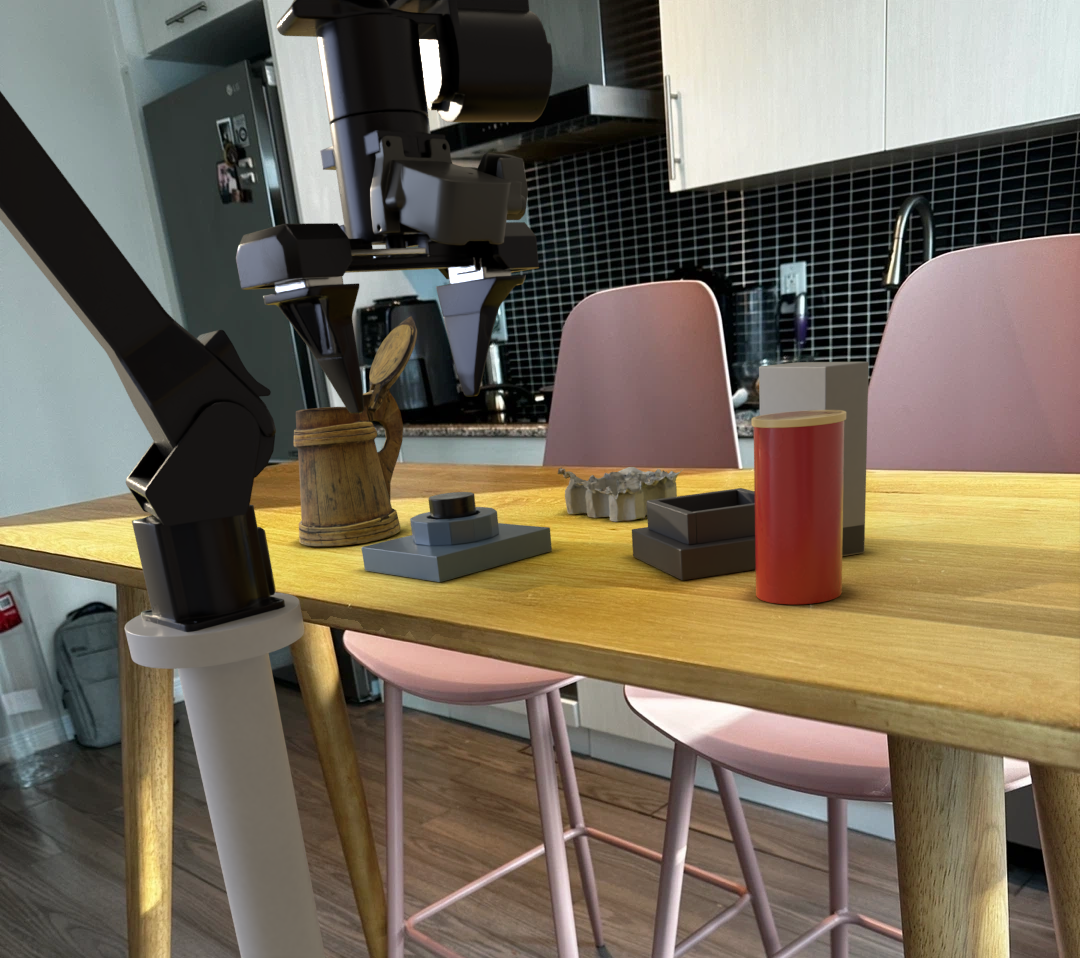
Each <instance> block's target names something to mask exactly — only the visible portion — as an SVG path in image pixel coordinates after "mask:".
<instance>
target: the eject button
mask: <svg viewBox="0 0 1080 958" xmlns="http://www.w3.org/2000/svg"><path fill="white" fill-rule="evenodd" d="M476 507H477V506H476V497H475V493H473V492H471V491H458V492H457V491H456V492H454V491H453V492H445V493H439V494H435V495H431V496H429V497H428V508H429V512H430V516H431V519H436V520H438V519H455V518H463V517H468V516H473V515H477V514H476Z"/></svg>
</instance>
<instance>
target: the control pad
mask: <svg viewBox="0 0 1080 958" xmlns="http://www.w3.org/2000/svg"><path fill="white" fill-rule="evenodd" d="M476 514H477V515H473V516H468V517H463V518H455V519H438V520H436V519H431V516H430V511H427V512H423V513H419V514H416V515H414V516H412V517H410V518H409V520H410V521H409V522H410V529H411V535H405V536H403V537H398V538H394V539H390V540H386V541H381V542H376V543H373V544H368V545H364V546H361V554H362V555H361V556H362V559H363V561H362V562H363V567H364V571H366V572H372V573H377V574H384V575H389V576H390V575H392V576H397V577H404V578H410V579H417V580H422V581H423V580H424V581H430V582H437V583H443V582H446V581H451V580H453V579H456V578H461V577H464V576H468V575H471V574H474V573H479V572H482V571H485V570H490V569H492V568H496V567H500V566H503V565H504V566H505V565H507V564H511V563H514V562H518V561H522V560H524V559H529V558H531V557H532V558H533V557H535V556H539V555H542V554H546V553H551V552H553V547H552V546H553V545H552V535H551V527H549V526H548V527H547V526H537V525H524V524H513V523H503V522H499V517H498V510H496V509H495V508H493V507H488V506H487V507H485V506H476Z"/></svg>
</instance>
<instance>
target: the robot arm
mask: <svg viewBox="0 0 1080 958" xmlns="http://www.w3.org/2000/svg"><path fill="white" fill-rule="evenodd" d="M276 30H277V32H278V33H279V34H280V35H281V36H284V37H306V38H307V37H310V38H316V42H317V49H318V56H319V57H318V58H319V64H320V69H321V76H322V84H323V88H324V89H323V90H324V96H325V97H324V98H325V103H326V110H327V117H328V123H329V132H330V138H331V139H330V140H331V144H332V146H329V147H325V148H323V149H320V150H319V152H320V161H321V166H322V170H323V171H335V173H336V178H337V186H338V192H339V198H340V199H339V200H340V205H341V212H342V219H343V224H340V225H339V223H337V222H335V223H333V222H331V223H330V222H329V223H328V222H326V223H325V222H324V223H322V222H321V223H319V222H317V223H313V222H312V223H305V222H304V223H282V224H278V225H275V226H271V227H268V228H265V229H261V230H256V231H253V232H249V233H247V234H243V235H242V237H241V240H240V242H239V244H238V247H237V251H236V256H235V262H236V267H237V273H238V279H239V284H240V289H241V290H245V291H249V290H264V289H266V290H268V289H274V292H275V293H270V294H265V295H262V298H263V302H264V305H266V306H276V307H278V308H279V310H280V312H281V313H282V314H283V315H284V317H285V318H286V319H287V320H288V322H289V323H290V324H291V326H292V327H293V329H294V330H295V331H296V333H297V334H298V335H299V336H300V338H301V339H302V340H303V342H304V343H305V344H306V346H307V347H308V349H309V350H310V352H311V353H312V356H313V357H314V359H315V360H316V361H317V363H318V365H319V366H320V368H321V369H322V371H323V373H324V374H325V376H326V377H327V379H328V381H329V382H330V384H331V386H332V388H333V389H334V391H335V392H336V394H337V396H338V397H339V398H340V401H341V402H342V403H343V405H344V407H346V408H347V410H348V411H349V412H350V413H352V414H353V413H362V412H363V410H364V403H363V394H364V388H363V387H364V385H363V380H362V373H361V367H360V360H359V354H358V348H357V342H356V334H355V329H354V322H353V313H354V309H355V306H356V302H357V299H358V295H359V290H360V283H359V282H358V283H344V278H343V277H344V275H345V274H346V273H347V274H348V273H370V272H372V273H373V272H393V271H396V272H397V271H398V272H399V271H415V270H418V271H419V270H438V271H439V272H440V273H441V274H442V276H443V277H444V278H445V279H446V280H449V284H442V285H436V286H435V288H436V293H437V297H438V302H439V305H440V310H441V313H442V318H443V322H444V326H445V330H446V335H447V338H448V343H449V347H450V351H451V355H452V359H453V364H454V367H455V371H456V375H457V379H458V381H459V384H460V386H461V390H462V392H463V395H464V396H465V397H477V396H478V395H479V394H480V391H481V385H482V382H483V378H484V377H483V376H484V372H485V367H486V364H487V363H486V362H487V359H488V358H487V357H488V352H489V348H490V343H491V338H492V334H493V330H494V326H495V323H496V319H497V316H498V313H499V310H500V307H501V306H502V304H503V302H504V301H505V300H506V299H507V297H508V296H509V295H510V293H511V291H513V289H514V288H515V287H516V286H521V285H523V284H524V283H525V280H526V276H527V275H526V274H517V275H515V274H513V275H512V273H517V272H523V271H529V270H535V269H539V268H540V267H539V266H540V265H539V255H538V253H539V252H538V243H537V235H536V234H535V233H534V232H533V230H532V229H531V228H530V227H529V225H528V224H527V223H526V222H524V221H520V220H521V219H522V218H523V217H524V216H525V215H526V211H527V206H528V205H527V203H528V195H529V189H528V182H527V176H526V170H525V164H524V159H523V158H522V157H518V156H514V155H511V154H507V153H491V152H490V153H489V152H487V153H486V152H485V153H484V154H483V155H482V157H481V159H480V162H479V164H478V166H477V167H475V166H462V165H458V164H454V163H453V161H452V156H451V147H450V144H449V142H448V140H447V139H446V134H444V133H431V127H430V119H429V111H436V113H437V114H438V115H439V117H440V119H442V120H443V121H444V122H445V123H533V122H535V121H537V120H538V119H539V118H540V117H542V114H543V112H544V111H545V109H546V108H547V104H548V101H549V99H550V98H549V97H550V94H551V89H552V83H553V71H554V69H553V68H554V67H553V49H552V44H551V42H550V41H548V38H547V34H546V30H545V28H544V25H543V23H542V21H541V19H540V18H539V16H538V15H537V14H536V13H534V12H533V11H531V10H530V2H529V0H293V1H292V2H291V5H290V6H289V7H288V8H287V10H286V11H285V12H284V13H283V14H282V16H281V17H280V19H279V20H278V21H277V23H276ZM507 221H509V222H507ZM0 222H1V223H2V224H3V225H4V227H5V228H6V229H7V231H8V232H9V233H10V234H11V235H12V237H13V238H14V239H15V240H16V242H17V243H18V244H19V245H20V246H21V248H22V249H23V250H24V251H25V253H26V254H27V255H28V256H29V258H30V259H31V261H32V262H33V263H34V265H36V267H37V268H38V269H39V270H40V272H41V273H42V274H43V275H44V276H45V278H46V279H47V280H48V281H49V283H50V284H51V286H52V287H53V288H54V289H55V290H56V292H57V293H58V294H59V295H60V297H61V298H62V299H63V300H64V301H65V303H66V304H67V305H68V306H69V308H70V309H71V310H72V311H73V313H74V314H75V316H76V317H77V318H78V319H79V321H80V322H81V323H82V324H83V326H85V328H86V330H88V332H89V333H90V334H91V335H92V337H93V338H94V340H96V342H97V343H98V344H99V346H100V347H101V348H102V349H103V350H104V352H105V353H106V355H107V357H108V358H109V360H110V362H111V364H112V366H113V367H114V369H115V371H116V373H117V376H118V377H119V379H120V381H121V383H122V386H123V388H124V390H125V392H126V394H127V395H128V398H129V399H130V402H131V404H132V405H133V406H132V407H133V408H134V409H135V411H136V413H137V415H138V416H139V418H140V420H141V422H142V424H143V425H144V427H145V429H146V431H147V432H148V434H149V436H150V437H151V439H152V442H151V444H150V446H149V447H148V448H147V450H146V451H145V452H144V454H143V455H142V456H141V458H140V459H139V461H138V462H137V463H136V465H135V466H134V467H133V469H132V470H131V472H130V473H129V475H128V476H127V477H126V479H125V484H126V487H127V488H128V490H129V491H130V493H131V494H132V496H133V498H134V499H135V501H136V503H137V504H138V506H139V508H140V509H141V510H142V511H143V512H145V513H149V514H150V515H148V516H145V517H143V518H137V519H133V520H131V524H132V530H133V533H134V538H135V541H136V546H137V550H138V555H139V559H140V564H141V568H142V573H143V574H142V575H143V577H144V581H145V587H146V591H147V595H148V599H149V604H150V609H147V610H146V609H145V610H142V611H141V612H140V615H141V616H142V619H143V620H145V621H149V622H152V623H156V624H159V625H163V626H166V627H170V628H173V629H177V630H180V631H183V632H194V631H198V630H202V629H205V628H209V627H213V626H217V625H220V624H224V623H228V622H232V621H235V620H239V619H243V618H247V617H250V616H254V615H258V614H262V613H265V612H269V611H273V610H277V609H280V608H284V607H285V602H284V599H281V598H276V597H271V595H274V594H275V592H276V591H277V590H276V589H277V588H276V583H275V578H274V573H273V567H272V561H271V556H270V551H269V546H268V545H269V544H268V539H267V534H266V530H265V529H264V528H263V527H261V526H258V522H257V518H256V512H255V511H256V510H255V505H254V504H251V499H252V492H253V488H254V483H255V482H254V481H255V478H257V477H258V476H259V475H260V474H261V473H262V472H263V470H264V469H265V468H266V467H267V466H268V464H269V463H270V460H271V458H272V456H273V453H274V452H275V451H274V450H275V439H276V433H277V428H276V424H275V420H274V418H273V416H272V413H271V412H270V410H269V408H268V406H267V405H266V403H265V402H264V400H262V398H261V397H269V396H270V395H271V393H272V392H271V390H270V388H268V387H267V386H265V385H263V384H262V383H261V382H258V380H256V378H255V377H254V376H253V375H252V374H251V373H250V372H249V371H248V369H247V368H246V366H245V365H244V363H243V361H242V359H241V357H240V355H239V353H238V352H237V351H238V350H236V347H235V346H234V344H233V342H232V341H231V339H230V338H229V336H228V334H227V332H226V331H225V330H224V329H218V330H214V331H209V332H206V333H202V334H199V335H198V337H195V336H194V335H193V334H192V333H191V332H190V331H188V330H187V329H186V328H185V327H183V326H182V325H181V324H180V323H179V322H177V321H176V319H174V318H173V316H171V315H170V314H169V313H168V312H167V311H166V310H165V308H164V307H163V306H162V304H161V303H160V302H159V300H158V299H157V297H156V296H155V295H154V294H153V292H152V291H151V290H150V288H149V287H148V286H147V284H146V283H145V281H143V279H142V277H141V276H140V275H139V274H138V272H137V271H136V270H135V268H134V267H133V266H132V265H131V263H130V262H129V260H128V259H127V258H126V257H125V255H124V254H123V253H122V251H121V250H120V248H119V247H118V246H117V244H116V243H115V241H114V240H113V239H112V238H111V236H110V235H109V233H107V231H106V230H105V229H104V227H103V226H102V224H101V222H99V220H98V219H97V217H95V215H94V213H93V212H92V211H91V209H90V208H89V207H88V206H87V204H86V203H85V202H84V201H83V199H82V198H81V197H80V195H79V194H78V193H77V191H76V190H75V188H74V187H73V186H72V184H71V183H70V182H69V180H68V179H67V178H66V176H65V175H64V174H63V172H62V171H61V169H60V168H59V167H58V166H57V164H56V163H55V161H54V160H53V159H52V158H51V157H50V155H49V153H48V152H47V151H46V150H45V149H44V147H43V145H41V143H40V142H39V141H38V139H37V138H36V137H35V135H34V134H33V132H32V131H31V129H29V127H28V126H27V124H26V123H25V122H24V120H23V119H22V118H21V117H20V115H19V114H18V113H17V111H16V110H15V109H14V107H13V106H12V104H11V103H10V101H8V99H7V97H5V95H4V94H3V93H2V91H1V90H0ZM373 246H385V248H373Z"/></svg>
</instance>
